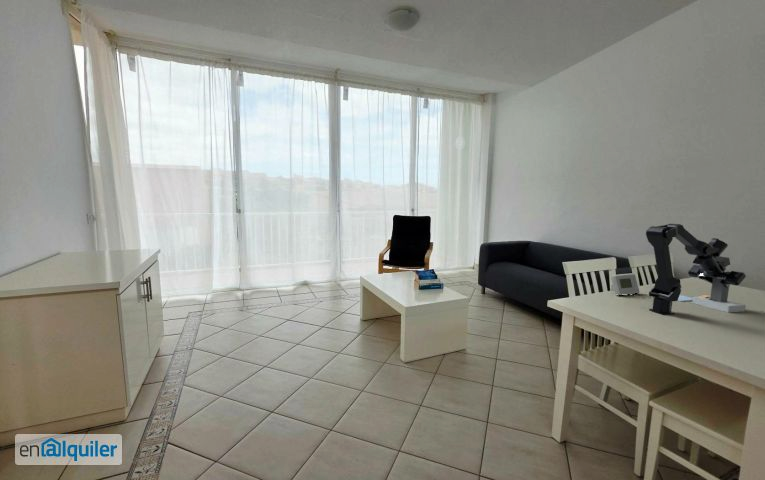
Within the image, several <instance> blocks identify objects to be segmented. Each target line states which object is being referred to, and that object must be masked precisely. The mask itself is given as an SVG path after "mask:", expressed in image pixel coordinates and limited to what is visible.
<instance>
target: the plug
mask: <svg viewBox="0 0 765 480" xmlns="http://www.w3.org/2000/svg"><path fill="white" fill-rule="evenodd" d="M723 272H726V270H725V271H723ZM722 279H723V278H713V282H712V284H711V290H710V296H711V297H710V299H713V300H717V301H727V300H728V297H729V290H730V287H729V288H727V287H725V286H724V285H722V284H721V283H720V282H721V281H722Z"/></svg>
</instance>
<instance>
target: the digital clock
mask: <svg viewBox="0 0 765 480" xmlns="http://www.w3.org/2000/svg"><path fill="white" fill-rule="evenodd" d="M610 279H611V287H610V292H611V291H614V292H615V294H618V295H622V294H634V295H636V294H635V293H638V294H639V293H640V287H639V285H638V280H637V277H636V275H635V273H619V274H614V275H611V277H610ZM615 294H614V295H615Z"/></svg>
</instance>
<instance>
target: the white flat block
mask: <svg viewBox="0 0 765 480" xmlns="http://www.w3.org/2000/svg"><path fill="white" fill-rule="evenodd" d="M710 297H711V295H706V294H705V295H704V294H703V295H698V296H693V297H692V298H693V301H691V302H692V304H696V305H700V306H703V307H706V308H710V309H714V310H717V311H722V312H724V313H736V312H737V313H738V312H739V313H741V312H745V311H746V306H747V305H746V304H745V303H741V302H736V301H732V300H728V299H727V301H717V300H713V299H710Z"/></svg>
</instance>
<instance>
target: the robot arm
mask: <svg viewBox="0 0 765 480" xmlns="http://www.w3.org/2000/svg"><path fill="white" fill-rule="evenodd" d="M645 231H646V232H645V235H646V239H647V241H648V243H650V245H651V246H652V247H653V252H654V258H655V265H656V271H657V279H655V281H654V285H653V286H652V288H651V289H650V290H649V291H648V296H649V297H651V298H653V301H652V308H648V311H652V312H654V313H656V314H660V315H675V313H676V312H674V311H672V308H673V303H674V302H678V301H677V300H678V298H679V295H681V293H682V292H681V291H682V285H681V284H682V283H681V279H680V278H677V277H675V276H674V271H673V266H672V260H671V254H670V253H671V252H670V245H671V243H672V241H673V239H676V240H677V241H679V243H681V244H682V245H683V246H684V250H685V251H686V253H687V254H688V255H691V256H695V257H694V259H693V260H692V264H693V265H692V266H691V267H690V269H689V270H688V271H687V274H688V276H689V277H692V278H697V277H698V279H699V280H702V281H705V282H706V283H709V284H711V285H712V282H713V278H723V279H722V281H721V282H720V283H721V284H722V285H724V286H725V287H727V288H729V289H730V287H731V285H733V286H740V285H741V284H742V282H743V281H744V280H745V278H746V277H747V276H746V274H745V273H744V272H743V271H737V270H731V271H726V270H727V267H728V266H730V265H731V260H730V257H727V256H721V255H722V254H723V253H724V251H725V250H727V248H728V246H729V245H728V243H726V242H724V241H723V240H720V238H716V237H712V238H711V240H709V242H708V243H707V242H705V241H703V240H699V239H698V238H696V236H694V235H693V234H692V233H690V232H689V231H688V230H687V229H686V228H684V225H683V224H680V223H667V224H663V225H656V226H654V225H653V226H650V227H648V229H646V230H645ZM723 271H725V272H723ZM663 294H664V295H663ZM665 295H667V296H665Z"/></svg>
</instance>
